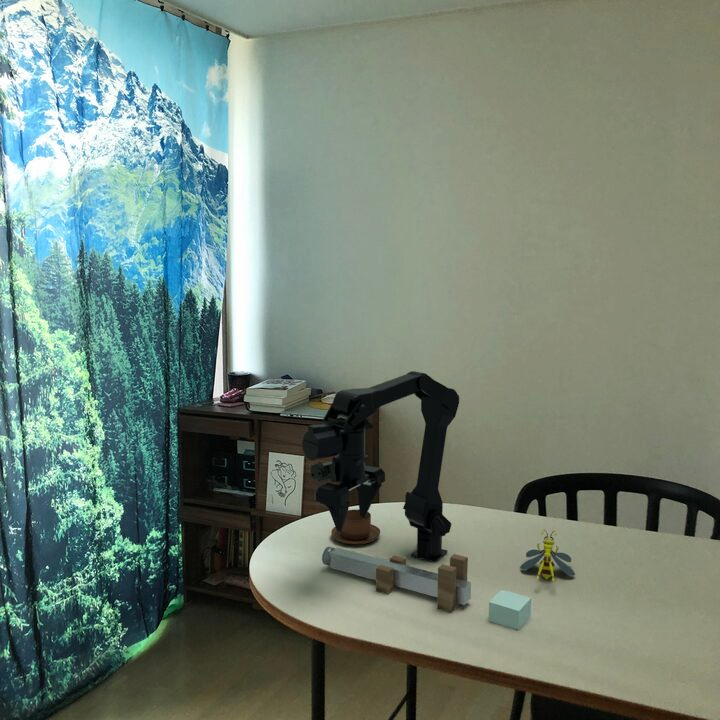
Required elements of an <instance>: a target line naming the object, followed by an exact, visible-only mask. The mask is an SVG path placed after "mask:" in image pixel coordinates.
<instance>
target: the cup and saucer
mask: <svg viewBox="0 0 720 720" xmlns="http://www.w3.org/2000/svg"><path fill="white" fill-rule="evenodd" d="M371 518H372V514H371V512H370V511H368V512H367V514H366V516H365V517H361V516H360V511H359V509H348V512H347V515H346V519H345V523H344V526H343V529H342V531H341V532H340V531H337V530H336V527H335V526H334V527H333V528H332V529H331V536H332V537H333V538H334V539H335V540H336V541H337V542H340V543H343V544H347V545H365V544H368V543H372V542H374V541H376V540H377V539H378V538H379V537H380V535H381V529H380V528H379V527H378V526H377V525H374V524H371V523H372V521H371V520H372V519H371Z"/></svg>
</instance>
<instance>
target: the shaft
mask: <svg viewBox="0 0 720 720" xmlns="http://www.w3.org/2000/svg"><path fill="white" fill-rule="evenodd" d="M321 556H322V557H321V560H322V564H323V565H324V566H327V567H329V568H331V569H334V570H338V571H341V572H346V573H348V574H352V575H356V576H358V577H363V578H367V579H369V580H370V579H371V580H373V581H376V568H377V567H378V566H380V565H384V566H388V567H392V568H394V578H393V585H395V586H398V587H399V588H402V589H405V590H409V591H413V592H416V593H421V594H424V595H428V596H431V597H435V598H438V572H433V571H430V570H425V569H421V568H418V567H413V566H410V565H407V564H406V565H403V564H399V563H395V562H391V561H389V560H388V559H384V558H381V557H380V558H379V557H375V556H371V555H368V554H363V553H360V552H355V551H352V550H348V549H344V548H340V547H332V546H327V547H326V548H324V550H323V553H322V555H321ZM398 587H397V588H398ZM471 596H472V582H471V581H469V580H467V581H465V580H461V579H457V578H456V603H459V605H463V606H465V605H467V603H468V602H469V601H470V600H471V599H472V597H471Z"/></svg>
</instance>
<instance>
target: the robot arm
mask: <svg viewBox="0 0 720 720" xmlns="http://www.w3.org/2000/svg"><path fill="white" fill-rule="evenodd" d="M412 395H414V396H415V397H416V398H418V399H419V400H420V412H421V414H422V418H423V420H424V423H425V425H424V433H423V439H422V440H423V441H422V447H421V453H420V458H419V465H418V473H417V481H416V484H415V486H414V488H413V489H412V491H411V492H410V491H406V493H405V497H404V498H405V499H404V500H405V502H404V505H403V507H402V509H403V510H404V515H405V517H406V519H407V520H408V522H409V525H410V527H413V528H415V529H417V531H416V533H417V535H416V538H417V539H416V540H417V541H416V549H415V550H414V551H412V552H411V554H410V556H411V557H414V558H417V559H422V560H424V561H430V562H433V563H437V562H438V561H439V560H440V559H442V558H443V557H444V556H445V555H446V554H448V550H447V549H443V537H445V536H446V535H447V534H449V533H450V531H451V527H452V522H451V521H450V520H449V519H448V518H447V517H446V516H445V515H444V514H443V510H444V509H443V507H444V505H443V499H442V497H441V493H440V491H439V490H440V489H439V487H440V486H439V485H440V477H441V471H442V465H443V457H444V452H445V451H444V450H445V445H446V438H447V432H448V431H447V430H448V427H449V426H450V424H451V423H452V422H453V420H454V419H455V418H456V417H457V416H456V415H457V412H458V409H459V404H460V395H459V394H458V391H456V389H454V388H451V387H447V386H446V385H444V384H442V383H441V382H438V381H436V380H435V379H434V378H432V377H431V376H430V375H428V374H427V373H426V372H420V371H416V370H412V371H409V372H407V373H406V374H403V375H400V376H398V377H395V378H393V379H389V380H387V381H384V382H381V383H378V384H376V385H372V386H370V387H364V388H349V389H342V390H339V391H338V392H336V393H335V394H334V398H333V401H332V403H331V405H330V407H329V408H328V410H327V412H326V413H325V415H324V417H323V419H322V420H321V423H322V424H318V425H317V424H312V425H308V426H307V432H305V434H304V435H303V438H302V441H301V446H302V450H303V454H304V455H305V457H306V459H308V460H309V461H315V460H316V461H317V460H320V459H321V460H322V459H325V458H331V457H332V458H331V459H332V460H331V461H327V462H325V463H324V462H323V463H322V462H321V461H320V462H319V461H318V462H317V463H313V464H311V465H310V472H309V473H310V474H309V475H310V477H311V479H312V480H315V481H316V483H321V482H322V481H325V480H330V482H327V483H324V484H323V485H320V486H319V487H316V489H315V490H314V501H315V502H318V503H320V504H321V505H324V506H325V507H327V509H328V511H329V513H330V516H331V519H332V522H333V523H334V527H336V530H337V531H340V532H341V531H342V529H343V526H344V523H345V519H346V515H347V512H348V510H349V508H350V504H351V502H350V501H349V499H350V496H351V495H350V494H351V493H350V491H352V490H354V489H355V490H356V491H357V498H358V510H359V511H360V516H361V517H365V516H366V514H367V512H369V510H370V508H371V506H372V503H373V501H374V499H375V498H376V496H377V494H378V492H379V490H380V489H381V487H382V484H383V483H384V482H386V472H385V471H384V470H383V468H380V467H376V466H369V465H366V462H368V461H370V456H369V455H366V431H367V430H371V429H374V427H375V426H374V424H373V423H371V422H370V421H369V420H368V418H370V417H371V416H373V415H374V414H375V413H376V411H377V410H378V409H380V408H381V407H383V406H386V405H389V404H391V403H393V402H396V401H399V400H401V399H404V398H406V397H409V396H412ZM340 418H341V419H340ZM343 419H345V420H343ZM331 482H332V483H331ZM336 482H337V483H338V484H335V483H336Z"/></svg>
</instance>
